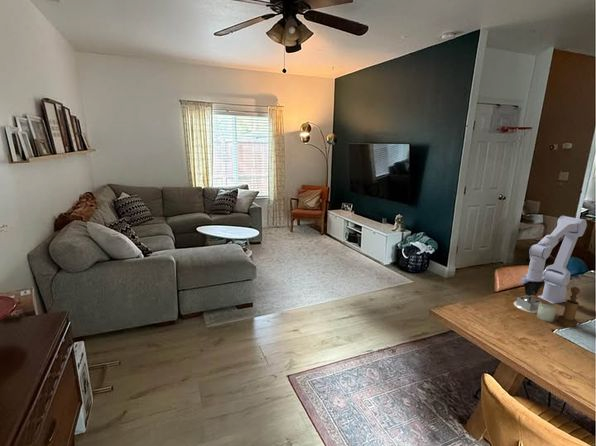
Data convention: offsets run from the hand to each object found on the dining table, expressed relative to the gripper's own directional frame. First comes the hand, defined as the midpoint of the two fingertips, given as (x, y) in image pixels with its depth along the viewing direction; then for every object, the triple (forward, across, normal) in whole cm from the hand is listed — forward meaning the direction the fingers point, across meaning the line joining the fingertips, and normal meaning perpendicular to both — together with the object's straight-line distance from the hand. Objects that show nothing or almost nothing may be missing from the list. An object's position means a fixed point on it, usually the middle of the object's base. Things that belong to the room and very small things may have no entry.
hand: (530, 294), depth 152 cm
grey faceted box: (+7, 0, -1) cm, 7 cm away
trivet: (+7, 0, 0) cm, 7 cm away
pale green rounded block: (+7, +2, +10) cm, 12 cm away
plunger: (+4, 0, 0) cm, 4 cm away
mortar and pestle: (+7, -3, +16) cm, 18 cm away
